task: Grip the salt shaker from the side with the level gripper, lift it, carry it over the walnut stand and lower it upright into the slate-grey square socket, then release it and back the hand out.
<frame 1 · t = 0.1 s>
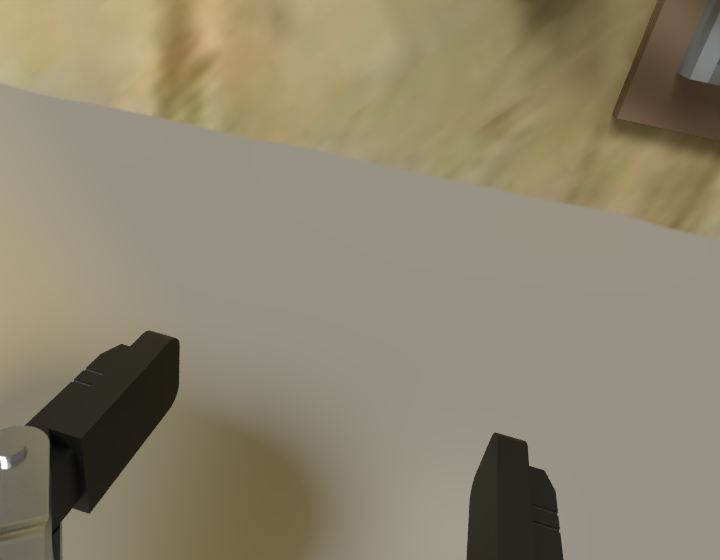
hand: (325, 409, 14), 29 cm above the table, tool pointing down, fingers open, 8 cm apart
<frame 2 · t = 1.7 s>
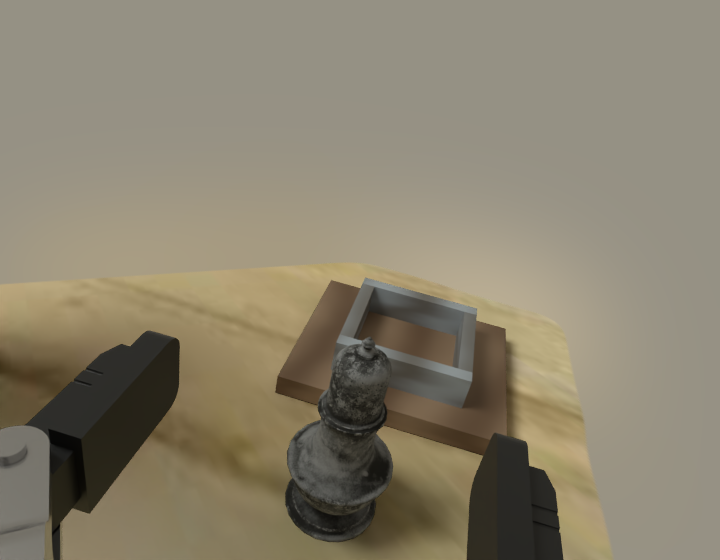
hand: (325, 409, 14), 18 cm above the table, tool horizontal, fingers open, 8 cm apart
socket stand: (401, 364, 44), on the table
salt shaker: (330, 501, 32), on the table
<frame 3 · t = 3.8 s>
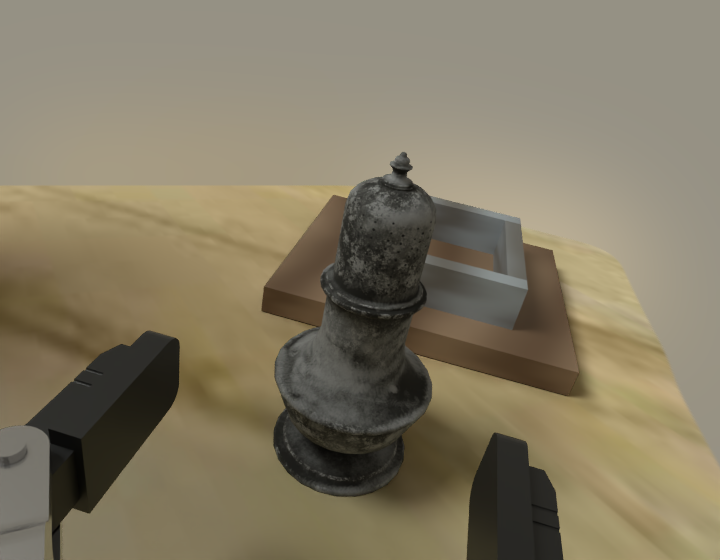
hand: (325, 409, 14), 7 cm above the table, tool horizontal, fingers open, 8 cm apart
socket stand: (425, 286, 34), on the table
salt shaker: (338, 443, 22), on the table
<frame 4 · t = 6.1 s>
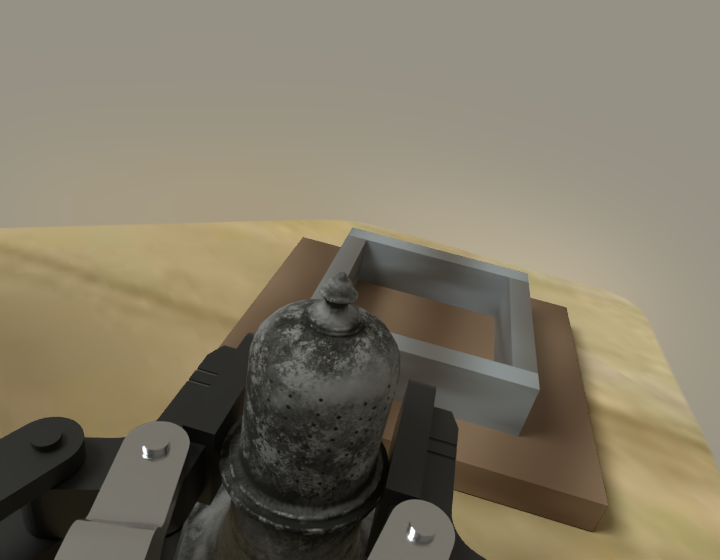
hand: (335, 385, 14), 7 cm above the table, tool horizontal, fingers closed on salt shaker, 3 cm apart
socket stand: (409, 361, 27), on the table
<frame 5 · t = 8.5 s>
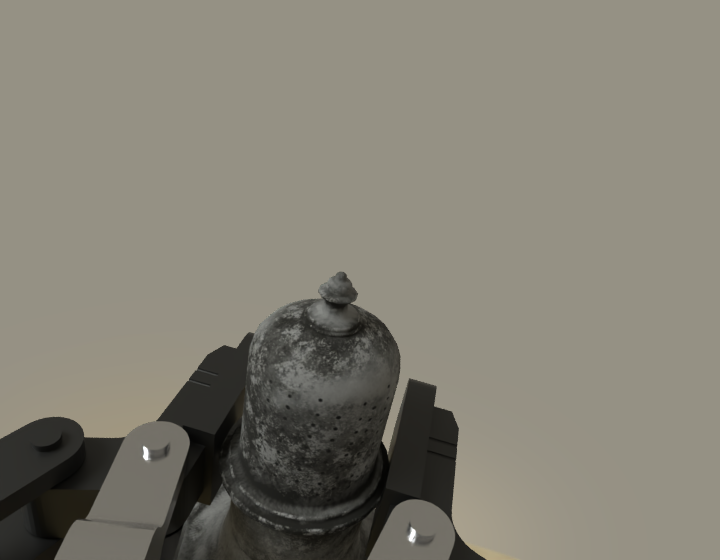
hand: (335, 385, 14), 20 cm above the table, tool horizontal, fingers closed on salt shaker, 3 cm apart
when the fingers open (9 cm above the table, at t = 11.2 s): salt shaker stays where it is, resting on socket stand.
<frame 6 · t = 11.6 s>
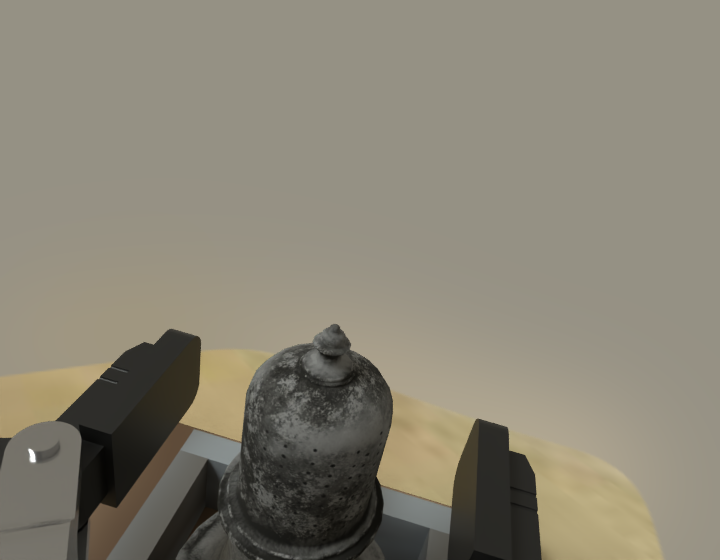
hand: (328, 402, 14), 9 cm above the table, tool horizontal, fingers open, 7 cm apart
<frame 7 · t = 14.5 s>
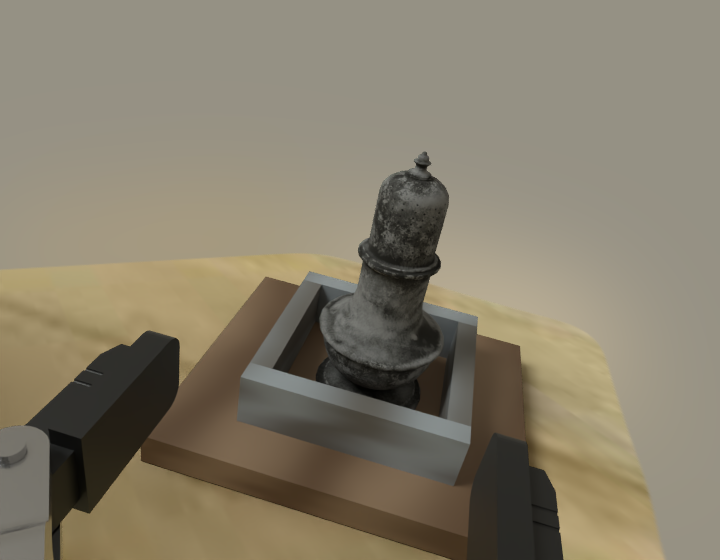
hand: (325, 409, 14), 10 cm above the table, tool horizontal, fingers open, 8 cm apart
socket stand: (360, 404, 28), on the table
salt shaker: (367, 387, 27), point 1 cm above the table, touching socket stand
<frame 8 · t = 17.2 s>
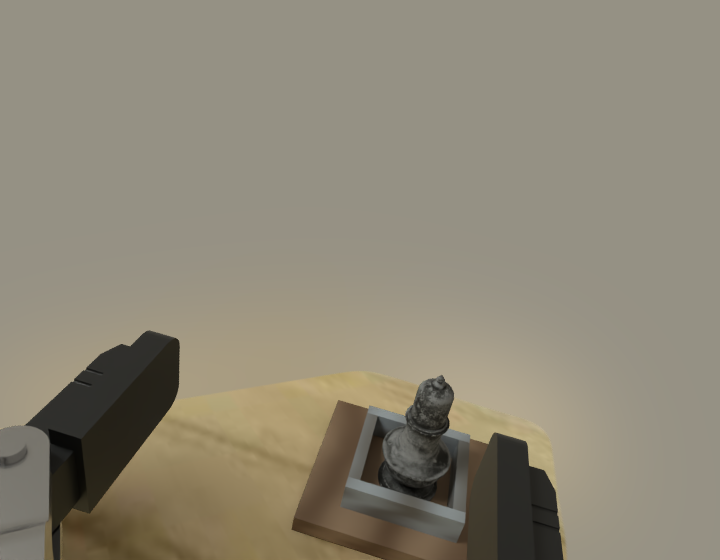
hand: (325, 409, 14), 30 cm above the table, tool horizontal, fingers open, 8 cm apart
socket stand: (402, 489, 49), on the table
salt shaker: (406, 481, 48), point 1 cm above the table, touching socket stand
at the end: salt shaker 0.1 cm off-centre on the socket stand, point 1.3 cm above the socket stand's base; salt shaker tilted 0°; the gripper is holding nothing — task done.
